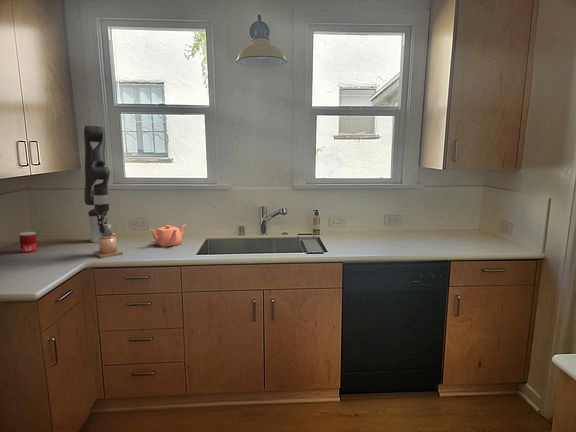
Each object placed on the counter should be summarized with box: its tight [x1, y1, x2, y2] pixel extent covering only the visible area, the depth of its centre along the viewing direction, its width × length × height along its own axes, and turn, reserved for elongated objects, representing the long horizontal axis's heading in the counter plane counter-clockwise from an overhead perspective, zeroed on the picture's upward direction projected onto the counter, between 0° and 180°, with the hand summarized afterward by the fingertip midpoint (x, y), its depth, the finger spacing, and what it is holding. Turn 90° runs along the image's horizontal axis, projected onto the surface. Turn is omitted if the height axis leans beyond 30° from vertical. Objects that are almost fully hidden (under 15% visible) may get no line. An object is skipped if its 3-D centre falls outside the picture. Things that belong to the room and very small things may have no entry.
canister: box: [93, 235, 124, 259], centre depth 216 cm, size 12×12×12 cm
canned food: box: [18, 231, 38, 254], centre depth 219 cm, size 8×8×11 cm
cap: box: [101, 223, 116, 237], centre depth 214 cm, size 7×6×6 cm
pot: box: [148, 224, 187, 248], centre depth 240 cm, size 18×17×12 cm
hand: (103, 231), depth 214 cm, fingers open, 8 cm apart
